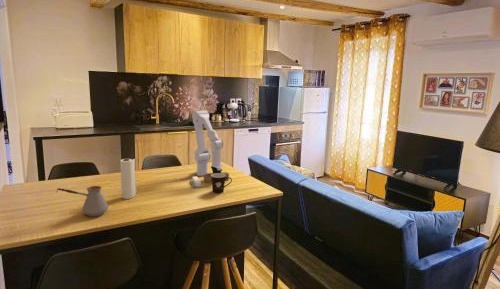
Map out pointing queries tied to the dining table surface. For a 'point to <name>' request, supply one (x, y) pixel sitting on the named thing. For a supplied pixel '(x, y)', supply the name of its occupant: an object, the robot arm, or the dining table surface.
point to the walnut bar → (208, 175)
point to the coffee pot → (92, 201)
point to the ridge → (196, 183)
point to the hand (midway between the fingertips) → (216, 178)
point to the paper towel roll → (128, 178)
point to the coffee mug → (218, 182)
